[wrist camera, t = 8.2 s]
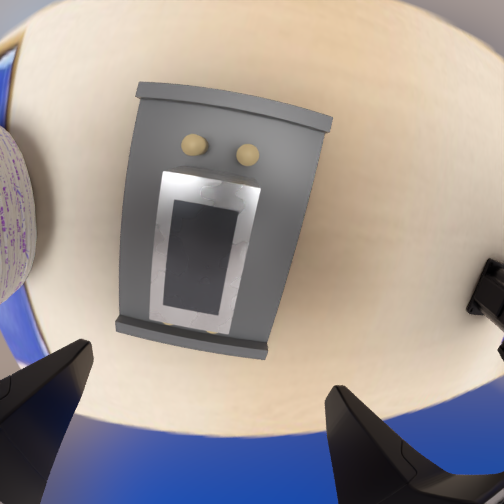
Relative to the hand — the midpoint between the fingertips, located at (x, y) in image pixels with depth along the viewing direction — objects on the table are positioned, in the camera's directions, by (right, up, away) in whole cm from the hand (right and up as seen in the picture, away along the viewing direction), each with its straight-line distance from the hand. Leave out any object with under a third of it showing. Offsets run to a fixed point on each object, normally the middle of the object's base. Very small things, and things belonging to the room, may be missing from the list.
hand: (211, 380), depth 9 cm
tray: (-2, +6, +10) cm, 12 cm away
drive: (-2, +6, +9) cm, 11 cm away
